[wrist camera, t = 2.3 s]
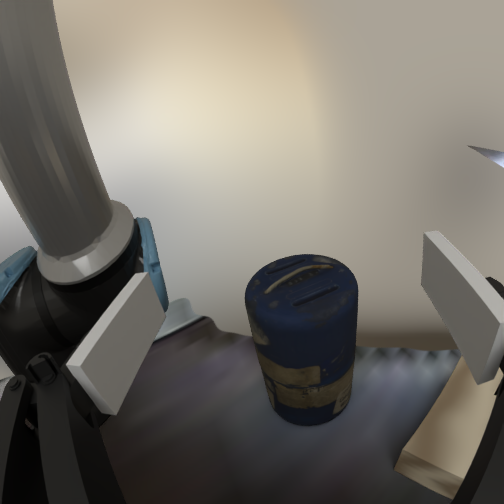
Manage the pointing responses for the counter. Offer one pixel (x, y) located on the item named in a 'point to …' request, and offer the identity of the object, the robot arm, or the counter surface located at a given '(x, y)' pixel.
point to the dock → (450, 433)
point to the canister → (305, 335)
